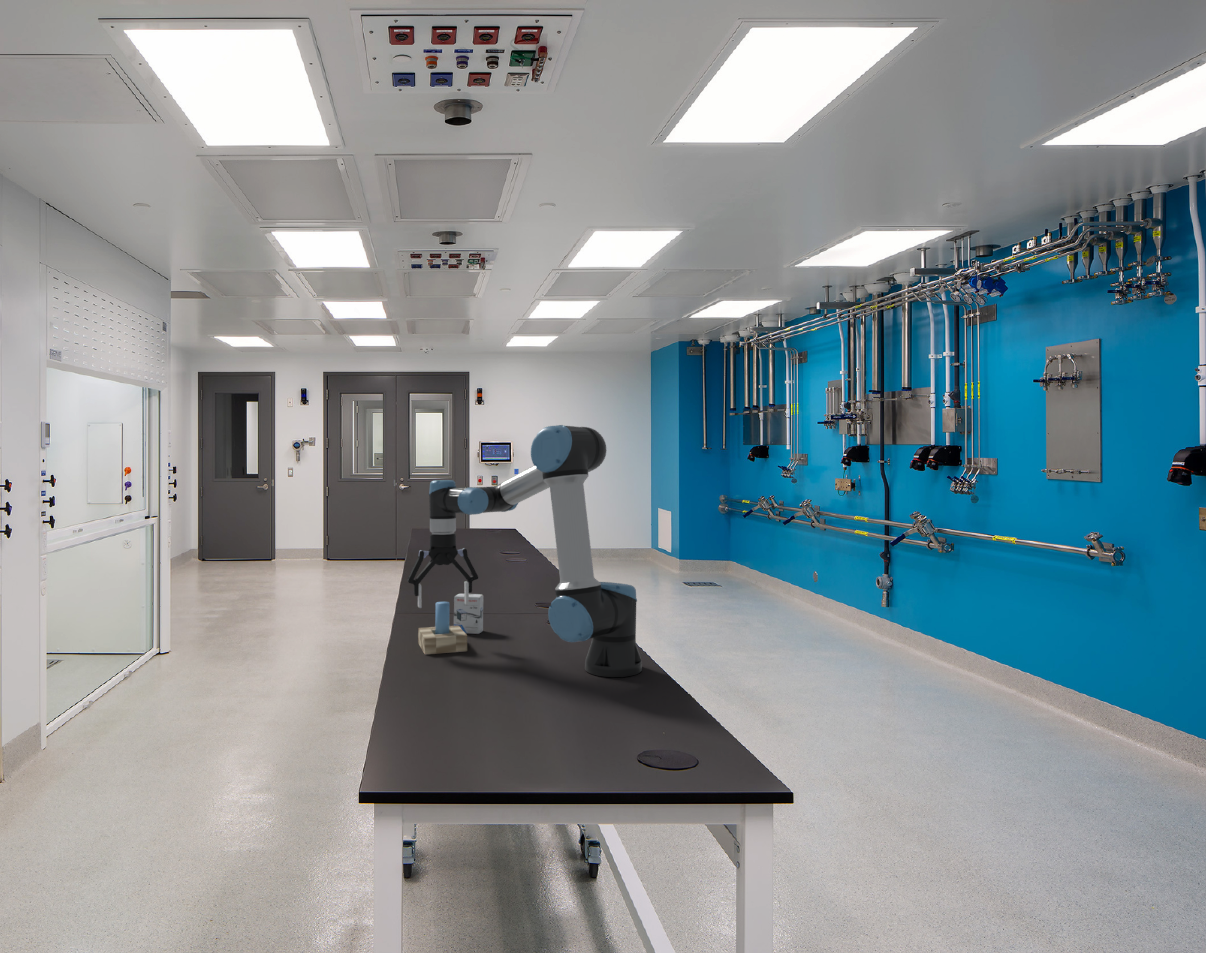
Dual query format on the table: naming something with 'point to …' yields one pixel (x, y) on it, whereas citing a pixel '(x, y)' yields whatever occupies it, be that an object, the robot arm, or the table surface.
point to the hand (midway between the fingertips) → (443, 605)
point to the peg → (442, 618)
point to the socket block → (442, 640)
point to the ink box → (469, 613)
